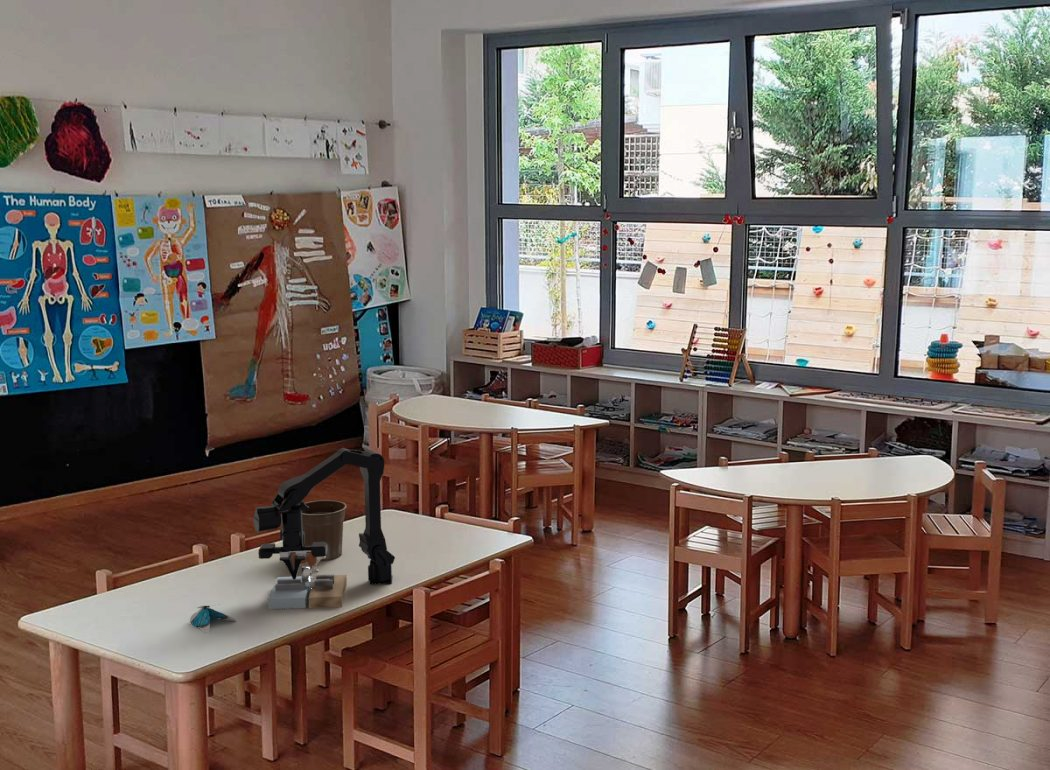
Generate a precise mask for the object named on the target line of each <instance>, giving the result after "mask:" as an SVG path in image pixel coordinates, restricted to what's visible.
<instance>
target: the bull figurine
mask: <svg viewBox="0 0 1050 770" xmlns="http://www.w3.org/2000/svg"><path fill="white" fill-rule="evenodd" d="M292 556H293V565H294V564H295V557H296V553H292ZM325 558H326V556H324V557H314V556H313V555H312V554H311V553H307V557H306V559H305V560H302V561H301V563H300V567H302V566H304V565H308V566H310V573H313V572H312V569H313V568H314V572H316V571H319V572H320V570H319V569H318V567H317V565H318V564H319V563H320V562H321V561H320V560H321V559H325Z"/></svg>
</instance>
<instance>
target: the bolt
mask: <svg viewBox="0 0 1050 770" xmlns="http://www.w3.org/2000/svg"><path fill="white" fill-rule="evenodd" d="M300 567H301V576H302V579H301V582H300V583H304V587H315V584H314V581H315V580H330V578H327V579H315V578H312V579H310V576H311V574H310V566H309V565H302V566H300Z"/></svg>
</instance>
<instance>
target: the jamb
mask: <svg viewBox="0 0 1050 770" xmlns="http://www.w3.org/2000/svg"><path fill="white" fill-rule="evenodd" d="M327 578H330V580H315V581H314V584H315V587H312V589H311V592H310V595H309V598H308V608H309V609H315V608H319V609H321V608H342V607H343V602H344V598H345V595H346V594H345V593H346V590H347V586H348V582H347V580H348V578H347V574H316V575H315V576H314V579H327ZM344 594H345V595H344Z"/></svg>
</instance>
